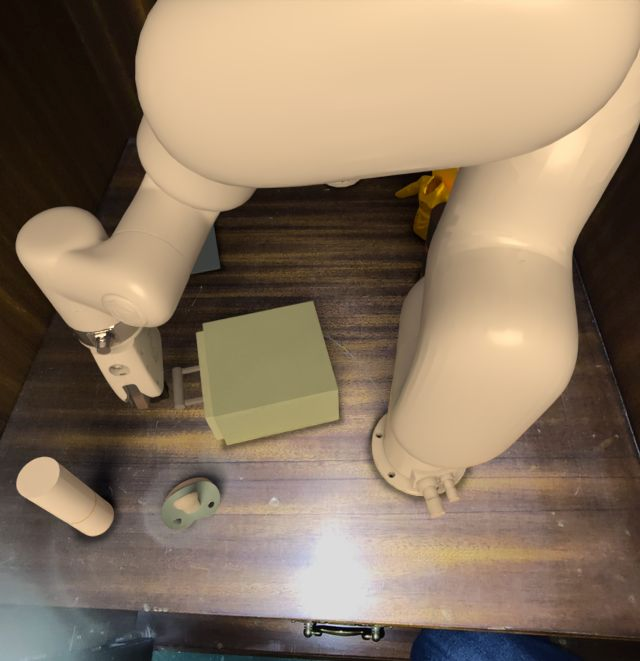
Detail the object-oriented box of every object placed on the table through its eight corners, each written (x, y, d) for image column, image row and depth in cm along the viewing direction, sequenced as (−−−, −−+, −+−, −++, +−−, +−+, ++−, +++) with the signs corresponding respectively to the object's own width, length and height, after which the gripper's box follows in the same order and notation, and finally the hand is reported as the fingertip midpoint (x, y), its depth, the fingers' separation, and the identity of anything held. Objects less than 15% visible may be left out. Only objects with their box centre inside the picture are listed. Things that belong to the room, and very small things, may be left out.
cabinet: (227, 445, 70) (213, 417, 63) (215, 356, 78) (202, 323, 71) (339, 419, 71) (338, 389, 64) (316, 335, 79) (313, 300, 72)
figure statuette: (385, 211, 95) (394, 98, 77) (419, 195, 97) (435, 81, 79) (451, 271, 86) (478, 158, 68) (486, 251, 88) (521, 137, 70)
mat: (220, 268, 88) (220, 267, 88) (150, 282, 87) (149, 280, 87) (212, 214, 96) (211, 212, 96) (147, 226, 95) (146, 224, 95)
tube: (116, 500, 66) (64, 455, 54) (110, 535, 64) (53, 497, 51) (83, 501, 66) (23, 457, 54) (75, 536, 64) (10, 499, 51)
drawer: (185, 447, 69) (170, 426, 63) (178, 364, 76) (165, 338, 71) (321, 416, 71) (319, 392, 65) (301, 338, 78) (298, 311, 73)
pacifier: (158, 496, 66) (172, 539, 63) (142, 478, 61) (156, 524, 58) (212, 470, 68) (228, 511, 65) (200, 450, 63) (217, 493, 60)
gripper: (143, 365, 51) (189, 440, 66) (140, 256, 59) (182, 345, 74) (65, 381, 50) (130, 453, 65) (74, 269, 59) (129, 355, 74)
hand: (157, 395), depth 70 cm, fingers closed
